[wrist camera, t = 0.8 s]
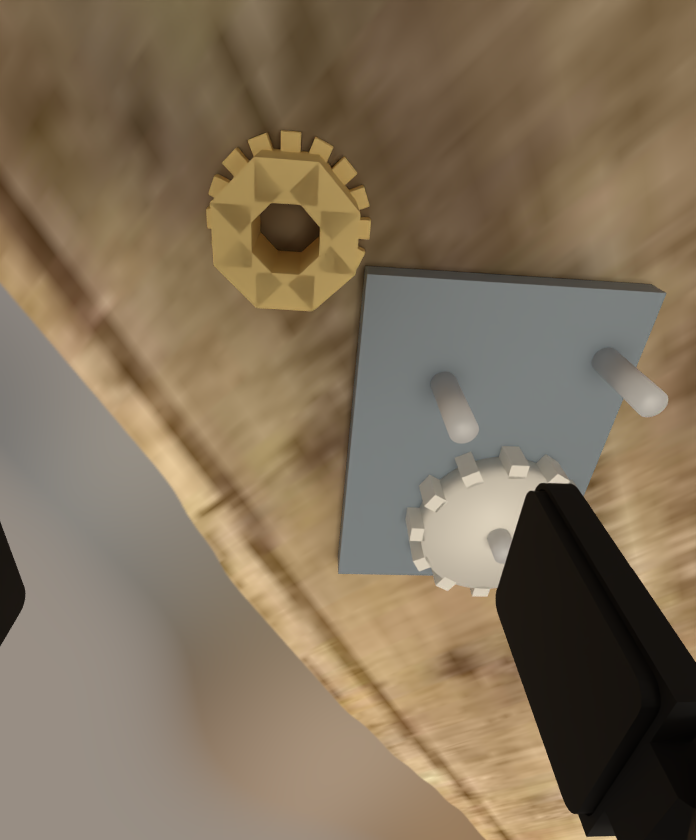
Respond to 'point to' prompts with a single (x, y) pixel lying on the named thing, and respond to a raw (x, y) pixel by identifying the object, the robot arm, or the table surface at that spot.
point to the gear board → (480, 410)
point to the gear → (287, 184)
